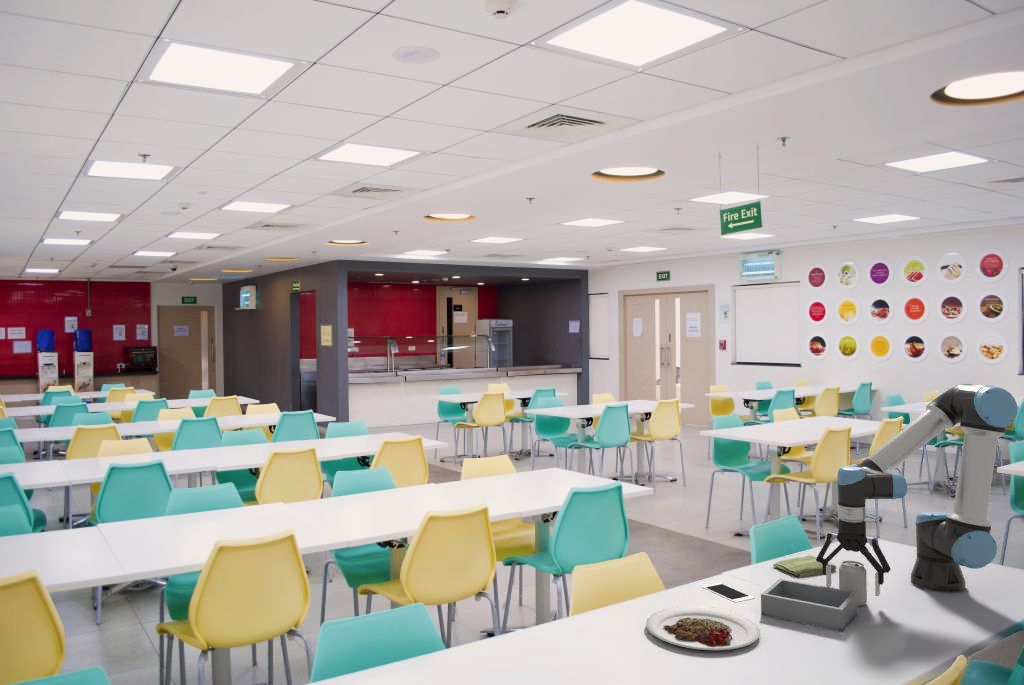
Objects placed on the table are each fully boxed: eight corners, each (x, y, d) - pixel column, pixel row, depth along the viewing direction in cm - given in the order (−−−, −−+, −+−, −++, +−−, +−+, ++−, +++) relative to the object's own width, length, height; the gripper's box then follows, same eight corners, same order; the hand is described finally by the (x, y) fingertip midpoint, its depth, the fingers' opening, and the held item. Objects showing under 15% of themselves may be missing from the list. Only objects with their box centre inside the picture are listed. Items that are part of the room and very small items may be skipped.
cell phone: (735, 604, 225) (735, 602, 225) (700, 588, 240) (700, 586, 240) (755, 599, 228) (755, 597, 228) (720, 584, 243) (720, 582, 243)
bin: (857, 613, 215) (857, 592, 215) (842, 632, 201) (842, 610, 201) (780, 598, 228) (779, 578, 228) (761, 615, 215) (760, 594, 215)
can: (869, 608, 219) (869, 567, 219) (842, 606, 220) (841, 566, 220) (863, 599, 226) (862, 559, 226) (836, 598, 227) (836, 558, 227)
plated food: (684, 605, 224) (684, 593, 224) (780, 631, 203) (780, 619, 203) (624, 633, 203) (624, 621, 203) (723, 667, 182) (723, 653, 182)
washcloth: (771, 568, 259) (770, 559, 259) (811, 562, 265) (811, 553, 265) (797, 579, 246) (797, 569, 246) (839, 573, 253) (839, 563, 253)
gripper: (804, 516, 227) (805, 586, 228) (895, 527, 212) (896, 602, 212) (811, 511, 233) (812, 579, 234) (900, 522, 218) (901, 594, 218)
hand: (852, 590), depth 223 cm, fingers open, 13 cm apart
